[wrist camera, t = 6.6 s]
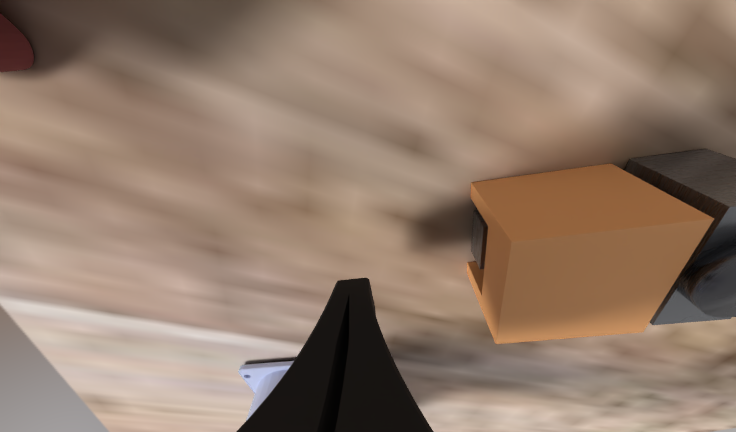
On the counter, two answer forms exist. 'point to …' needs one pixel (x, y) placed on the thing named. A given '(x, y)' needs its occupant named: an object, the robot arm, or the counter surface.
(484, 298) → the notched orange block
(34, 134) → the counter surface
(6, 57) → the mechanical component
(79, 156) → the counter surface
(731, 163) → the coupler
